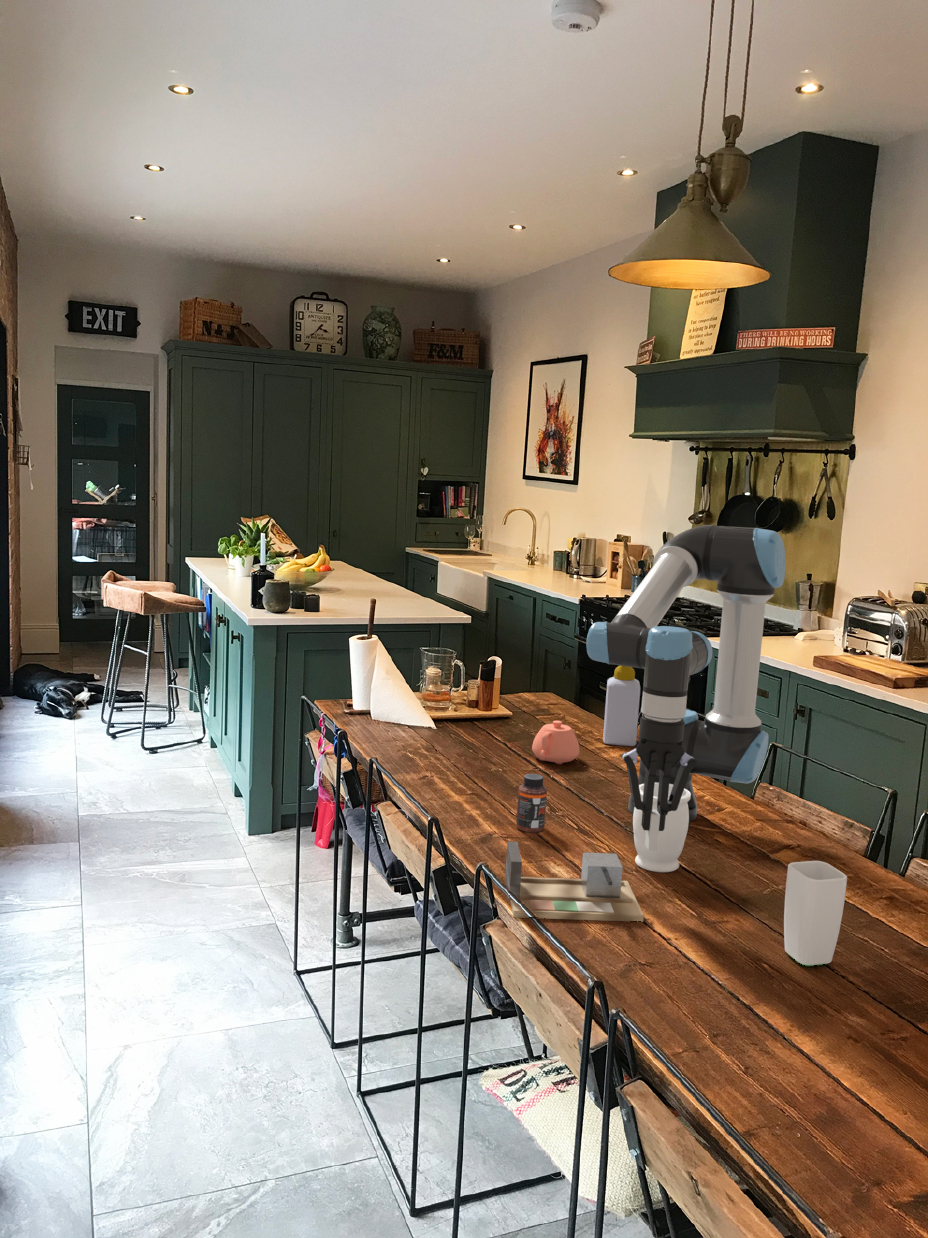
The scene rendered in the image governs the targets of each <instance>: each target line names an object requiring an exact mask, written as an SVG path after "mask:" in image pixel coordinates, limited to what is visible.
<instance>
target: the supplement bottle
mask: <svg viewBox="0 0 928 1238" xmlns="http://www.w3.org/2000/svg"><path fill="white" fill-rule="evenodd" d="M523 777H524V778H523V782H524V783H521V785H520V786H519V788H518V794H517V796H518V797H517V808H516V809H517V810H516V825H515V826H516V827H517V828H518V829H519V830H520V831H523V832H526V833H538V832H542V831H543V830H544V829H545V824H546V809H547V798H548V797H547V796H548V790H547V788H546V786H545V785H544V776H543V775H541V774H537V773H527V774H524V776H523Z"/></svg>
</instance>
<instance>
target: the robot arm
mask: <svg viewBox="0 0 928 1238" xmlns="http://www.w3.org/2000/svg"><path fill="white" fill-rule="evenodd" d="M786 557H787V556H786V549H785V545H784V541H783V538H782V536H781V535H780V534H779V533H778V531H775V530H770V529H763V528H760V527H759V528H758V527H744V526H743V527H741V526H724V525H716V524H705V525H704V524H703V525H698V526H693V527H692V528H688V529H686V530H684V531H683V532H681V533H678V534H677V535H675V536H674V537H672V538H671V539H669V540H667V541H666V542H665V543H664V544H663V545H662V546H661V547H660V548H659V550H658V551H657V552H656V554H655V555H654V557H653V561H652V567H651V568H650V570H649V571H648V573H647V574H646V575H645V577H644V578H643V579H642V581H640V583H639V585H638V586H637V587H636V588H635V590H634V591H633V593H632V594H631V595H630V597H629V598H628V600H626V602H625V603H624V605H623V606H622V607H621V609H619V611H618V613H617V614H616V615H615V617H614V618H613V619H612V620H611V622H608V621H596V622H594V623H593V624H592V625H591V626H590V627H589V629H588V633H587V636H586V652H587V655H588V657H589V659H591V660H592V661H596V662H601V663H606V664H608V665H616V666H620V665H621V666H628V667H632V668H637V669H642V670H643V669H644V675H643V687H642V697H641V707H640V711H641V714H643V715H641V716H640V717H639V719H640V720H639V729H638V730H639V731H638V740H637V741H636V744H635V745H634V749H632V750H630V751H629V752H627V751H624V752H622V753H621V758H622V760H623V762H624V763H625V765H626V769H627V775H628V777H627V778H628V782H629V788H630V789H629V791H630V796H629V797H628V805H627V806H628V808H627V809H628V811H629V812H630V813H631V814H632V815H633V813H634V808H636V809H638V810H642V822H641V825H642V828H643V830H646V840H645V845H646V847H647V849H648V850H651V851H657V844H658V833H659V831H663V830H664V828H665V817H666V815H667V814H668V812H669V811H676V810H677V808H678V805H679V802H680V799H681V796H682V794H683V791H684V788H685V789H687V790H688V791H689V792H690V793H691V798H690V800H689V801H688V802H687V804H688V809H689V823H690V822H693V821H694V820H696V819H697V818H698V817H697V816H698V804H697V798H696V794H695V791H694V787H693V774H695V775H700V776H704V777H709V778H713V779H719V780H723V781H724V780H725V781H728V782H730V783H741V784H750V783H753V782H754V781H755V780H756V779H757V778H758V776H759V774H760V772H761V770H762V768H763V764H764V762H765V760H766V759H765V758H766V755H767V751H768V748H769V738H770V737H769V734H768V732H766V731H765V730H762V719H760V718H759V717H758V715H757V714H756V706H757V704H756V703H757V695H758V693H757V692H758V686H759V685H758V684H759V683H758V682H759V673H760V664H761V653H762V652H761V651H762V644H763V633H764V624H765V615H766V614H765V612H766V603H767V602H768V601H769V600H770V599H771V598H773V597H774V595H775V589H778V588H781V587H782V586H783V584H784V582H785V579H786V578H785V575H786V569H787V564H786V563H787V561H786V559H787V558H786ZM696 580H705V581H706V580H707V581H713V582H716V583H717V585H716V592H717V593H718V594H719V596H720V597H721V598H722V608H721V609H722V610H721V611H722V612H721V619H720V633H719V644H718V654H717V655H718V656H717V668H716V679H715V689H714V697H713V699H714V700H713V708H712V709H711V710H710V711H709V712H708V713H706V715H705V716H704V717H705V720H704V721H703V720H699V716H698V713H697V711H695V710H691V709H687V700H688V689H689V680H690V676H693V675H694V674H697V673H700V672H702V671H703V670H704V669H705V668H706V667H707V666H708V665H709V664H710V663H711V660H712V658H713V647H712V643H711V641H710V640H709V638H708V637H707V636H706V635H704V634H703V633H701V632H699V631H692V630H689V629H687V628H684V627H678V626H671V625H670V626H669V625H660V626H659V623H661V621H662V620H663V618H664V616H665V615H666V614H667V611H669V609H670V608H671V606H672V604H674V602H675V600H676V599H677V598H678V596H679V594H680V593H681V592H682V590H683V588H685V587H688V586H691V584H693V583H694V581H696ZM637 758H639V768H638V769H639V770H638V771H637V767H636V764H637V763H638V759H637ZM638 772H639V773H638ZM655 783H659V788H658V799H657V810H652V806H653V795H654V784H655ZM640 784H644V792H643V802H642V801H641V795H640V789H639V785H640ZM669 784H672V785H673V788H672V791H671V794H670V796H669V799H668V793H669Z"/></svg>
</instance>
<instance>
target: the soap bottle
mask: <svg viewBox="0 0 928 1238" xmlns="http://www.w3.org/2000/svg"><path fill="white" fill-rule="evenodd" d="M635 676H636V671H635V669H634V667H628V666H621V665H617V667H615V669H614V674H613V676H612V677H609V678H607V680H606V681H607V682H606V683H607V684H606V696H605V707H604V721H603V724H604V725H603V732H602V733H603V736H602V737H603V738H602V741H603V743H604V744H607V745H614V746H615V745H616V746H622V747H623V746H625V747H635V745H636V743H637V737H638V736H637V735H638V734H637V733H638V725H639V724H638V723H639V711H640V710H639V709H640V698H641V697H640V696H641V685H640V681H639V680H638V679H636V678H635Z"/></svg>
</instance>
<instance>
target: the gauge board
mask: <svg viewBox="0 0 928 1238" xmlns="http://www.w3.org/2000/svg"><path fill="white" fill-rule="evenodd" d="M522 864H523V860H522V856H521V851H520V847H519V843H518V841H507V844H506V859H505V872H504V873H505V874H504V880H505V884H507V886H508V887H509V889H510V891H511V892H512V893H513V894H514V895H515V896H516V897H518V898H519V899H520V900H521V901H522V902H524V904H525V905H526V906H527V907H528V908H529V909H530V910H531V911H532V912H533V913H534V914H536V915H537V916H538V917H539V918H538V919H544V918H545V920H546V919H550V920H551V919H552V920H576V921H578V920H579V921H580V920H581V921H600V922H601V921H605V922H606V921H607V922H609V921H610V922H630V921H637V923H639V922H638V921H641V922H640V923H643V922H644V918H645V917H644V916H645V915H644V913H643V911H642V909H641V907H640V904H639V902H638V901H637V898H636V895H635V894H634V891H633V890H632V887H631V885H630V883H629V881H628V880H622V882H621V894H620V898H602V897H585V895H584V892H583V889H582V887H581V878H566V877H565V878H560V877H539V876H538V877H537V876H536V877H534V876H532V877H531V876H522V866H523V865H522ZM507 886H506V887H507ZM507 897H508V901H510V907H511V912H512V917H513V918H518V919H520V918H521V919H523V918H524V919H530V918H529V917H528V916H527V915H526V914H525V911H524V910H523V909H522V908H521V907H520V906H519V905H518V904H516V903H515V902H514V901H513V900H512V899H511V898H510V895H508V894H507Z"/></svg>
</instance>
